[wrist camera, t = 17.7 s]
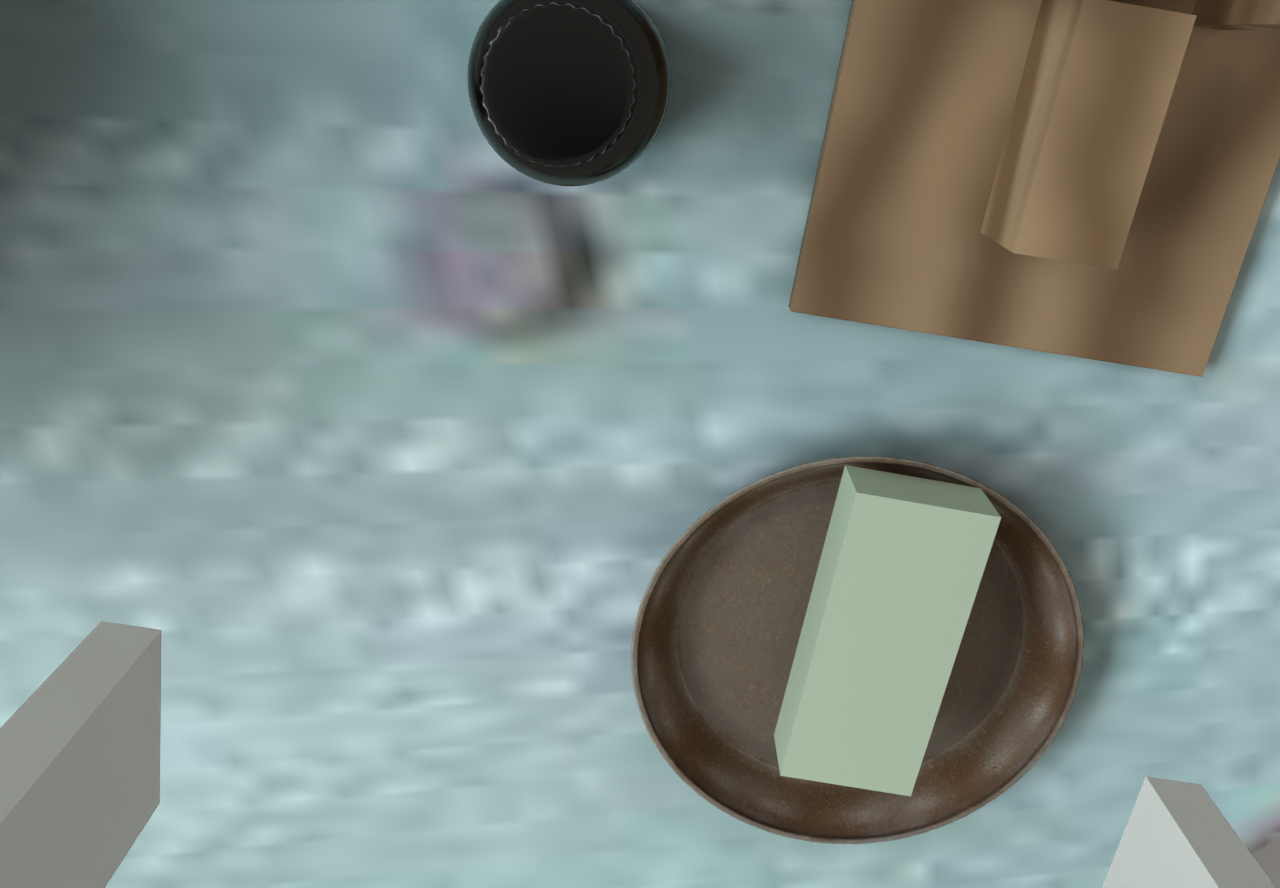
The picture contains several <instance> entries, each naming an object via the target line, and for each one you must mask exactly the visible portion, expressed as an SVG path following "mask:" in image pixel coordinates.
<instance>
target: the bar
mask: <svg viewBox="0 0 1280 888" xmlns="http://www.w3.org/2000/svg"><path fill="white" fill-rule="evenodd" d="M1000 520H1001V516H1000V515H999V514H998V512H997V511H996V509H995V508H994V506H993V505H992V503H991V502H990V501H989V499H988V498H987V496H986V495H985V493H984V492H983V491H982V489H981V488H975V487H970V486H964V485H958V484H952V483H947V482H941V481H935V480H929V479H924V478H918V477H912V476H906V475H900V474H895V473H889V472H883V471H877V470H872V469H866V468H860V467H854V466H848V465H845V467H844V471H843V475H842V478H841V482H840V486H839V490H838V494H837V497H836V501H835V505H834V509H833V512H832V516H831V520H830V524H829V528H828V531H827V535H826V539H825V543H824V547H823V550H822V554H821V558H820V562H819V566H818V569H817V573H816V577H815V581H814V585H813V588H812V592H811V596H810V600H809V604H808V607H807V611H806V615H805V619H804V623H803V626H802V630H801V634H800V638H799V642H798V645H797V649H796V653H795V657H794V661H793V664H792V668H791V672H790V676H789V680H788V683H787V687H786V691H785V695H784V699H783V702H782V706H781V710H780V714H779V718H778V721H777V725H776V729H775V733H774V739H775V746H776V752H777V758H778V764H779V771H780V776H786V777H792V778H798V779H805V780H811V781H817V782H823V783H830V784H836V785H842V786H848V787H855V788H861V789H867V790H874V791H880V792H886V793H892V794H899V795H905V796H911V794H912V791H913V788H914V785H915V782H916V779H917V776H918V773H919V770H920V767H921V764H922V760H923V757H924V754H925V751H926V748H927V745H928V742H929V739H930V736H931V733H932V730H933V726H934V723H935V720H936V717H937V714H938V711H939V708H940V705H941V702H942V699H943V696H944V693H945V689H946V686H947V683H948V680H949V677H950V674H951V671H952V668H953V665H954V662H955V659H956V655H957V652H958V649H959V646H960V643H961V640H962V637H963V634H964V631H965V628H966V625H967V622H968V618H969V615H970V612H971V609H972V606H973V603H974V600H975V597H976V594H977V591H978V588H979V584H980V581H981V578H982V575H983V572H984V569H985V566H986V563H987V560H988V557H989V554H990V551H991V547H992V544H993V541H994V538H995V535H996V532H997V529H998V526H999V523H1000Z"/></svg>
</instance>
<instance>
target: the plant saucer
mask: <svg viewBox="0 0 1280 888" xmlns="http://www.w3.org/2000/svg"><path fill="white" fill-rule="evenodd" d="M845 465H848V466H854V467H860V468H866V469H872V470H877V471H883V472H889V473H895V474H900V475H906V476H912V477H918V478H924V479H929V480H935V481H941V482H947V483H952V484H958V485H964V486H970V487H975V488H981V489H982V491H983V492H984V493H985V495H986V496H987V498H988V499H989V501H990V502H991V503H992V505H993V506H994V508H995V509H996V511H997V512H998V514H999V515H1000V516H1001V520H1000V523H999V526H998V529H997V532H996V535H995V538H994V541H993V544H992V547H991V551H990V554H989V557H988V560H987V563H986V566H985V569H984V572H983V575H982V578H981V581H980V584H979V588H978V591H977V594H976V597H975V600H974V603H973V606H972V609H971V612H970V615H969V618H968V622H967V625H966V628H965V631H964V634H963V637H962V640H961V643H960V646H959V649H958V652H957V655H956V659H955V662H954V665H953V668H952V671H951V674H950V677H949V680H948V683H947V686H946V689H945V693H944V696H943V699H942V702H941V705H940V708H939V711H938V714H937V717H936V720H935V723H934V726H933V730H932V733H931V736H930V739H929V742H928V745H927V748H926V751H925V754H924V757H923V760H922V764H921V767H920V770H919V773H918V776H917V779H916V782H915V785H914V788H913V791H912V794H911V796H905V795H899V794H892V793H886V792H880V791H874V790H867V789H861V788H855V787H848V786H842V785H836V784H830V783H823V782H817V781H811V780H805V779H798V778H792V777H786V776H780V771H779V764H778V758H777V752H776V746H775V739H774V733H775V729H776V725H777V721H778V718H779V714H780V710H781V706H782V702H783V699H784V695H785V691H786V687H787V683H788V680H789V676H790V672H791V668H792V664H793V661H794V657H795V653H796V649H797V645H798V642H799V638H800V634H801V630H802V626H803V623H804V619H805V615H806V611H807V607H808V604H809V600H810V596H811V592H812V588H813V585H814V581H815V577H816V573H817V569H818V566H819V562H820V558H821V554H822V550H823V547H824V543H825V539H826V535H827V531H828V528H829V524H830V520H831V516H832V512H833V509H834V505H835V501H836V497H837V494H838V490H839V486H840V482H841V478H842V475H843V471H844V467H845ZM1083 647H1084V641H1083V625H1082V617H1081V611H1080V606H1079V602H1078V598H1077V594H1076V591H1075V588H1074V585H1073V582H1072V579H1071V577H1070V575H1069V573H1068V571H1067V569H1066V566H1065V564H1064V562H1063V560H1062V559H1061V557H1060V556H1059V554H1058V552H1057V551H1056V549H1055V548H1054V546H1053V545H1052V544H1051V542H1050V541H1049V540H1048V538H1047V537H1046V536H1045V534H1044V533H1043V532H1042V531H1041V530H1040V529H1039V527H1038V526H1037V525H1036V524H1035V523H1034V522H1033V521H1032V520H1031V519H1030V518H1029V517H1028V516H1027V515H1026V514H1024V513H1023V512H1022V511H1021V510H1020V509H1019V508H1018V507H1016V506H1015V505H1014V504H1012V503H1011V502H1010V501H1008V500H1007V499H1006V498H1004V497H1003V496H1001V495H1000V494H998V493H996V492H995V491H993V490H991V489H990V488H988V487H986V486H984V485H982V484H980V483H978V482H976V481H974V480H972V479H970V478H968V477H966V476H963V475H961V474H958V473H956V472H953V471H950V470H947V469H944V468H941V467H938V466H935V465H931V464H927V463H922V462H918V461H912V460H906V459H899V458H890V457H846V458H835V459H828V460H822V461H817V462H812V463H807V464H803V465H800V466H796V467H793V468H789V469H786V470H783V471H780V472H777V473H775V474H772V475H770V476H767V477H765V478H762V479H760V480H758V481H756V482H754V483H751V484H749V485H747V486H745V487H744V488H742V489H740V490H738V491H736V492H735V493H733V494H731V495H730V496H728V497H727V498H725V499H724V500H722V501H721V502H719V503H718V504H716V505H715V506H714V507H712V508H711V509H709V510H708V511H707V512H706V513H705V514H703V515H702V516H701V517H700V518H699V519H698V520H697V521H695V522H694V523H693V524H692V525H691V526H690V527H689V528H688V529H687V530H686V531H685V532H684V534H683V535H682V536H681V537H680V538H679V539H678V540H677V541H676V543H675V544H674V545H673V546H672V547H671V549H670V550H669V552H668V553H667V554H666V556H665V557H664V558H663V560H662V561H661V563H660V565H659V566H658V568H657V569H656V571H655V573H654V575H653V577H652V579H651V581H650V583H649V585H648V587H647V590H646V592H645V594H644V597H643V599H642V602H641V605H640V608H639V611H638V615H637V619H636V623H635V628H634V634H633V641H632V678H633V685H634V690H635V695H636V700H637V704H638V707H639V710H640V712H641V715H642V718H643V721H644V724H645V726H646V728H647V731H648V733H649V734H650V736H651V738H652V740H653V742H654V744H655V745H656V747H657V748H658V750H659V751H660V752H661V754H662V756H663V757H664V759H665V760H666V761H667V763H668V764H669V765H670V767H671V768H672V769H673V770H674V771H675V773H676V774H677V775H678V776H679V777H680V778H681V779H682V780H683V781H684V782H685V783H686V784H687V785H688V786H690V787H691V788H692V789H693V790H694V791H695V792H696V793H698V794H699V795H700V796H702V797H703V798H704V799H706V800H707V801H708V802H710V803H711V804H713V805H714V806H715V807H717V808H718V809H720V810H722V811H724V812H725V813H727V814H729V815H731V816H732V817H734V818H736V819H738V820H741V821H743V822H745V823H747V824H749V825H752V826H754V827H757V828H760V829H762V830H765V831H768V832H771V833H774V834H778V835H781V836H785V837H789V838H794V839H800V840H805V841H810V842H819V843H833V844H865V843H875V842H884V841H891V840H896V839H901V838H906V837H910V836H914V835H918V834H921V833H925V832H928V831H930V830H934V829H937V828H940V827H942V826H944V825H946V824H949V823H951V822H954V821H956V820H958V819H960V818H962V817H965V816H967V815H969V814H970V813H972V812H974V811H976V810H978V809H979V808H981V807H983V806H984V805H986V804H987V803H989V802H990V801H991V800H994V799H995V798H996V797H997V796H999V795H1001V794H1002V793H1003V792H1005V791H1006V790H1007V789H1008V788H1009V787H1011V786H1012V785H1013V784H1014V783H1015V782H1017V781H1018V780H1019V779H1020V778H1021V777H1022V776H1023V775H1024V774H1025V773H1026V772H1027V771H1028V770H1029V769H1030V768H1031V767H1032V766H1033V765H1034V764H1035V762H1036V761H1037V760H1038V759H1039V758H1040V756H1041V755H1042V754H1043V752H1044V751H1045V750H1046V748H1047V747H1048V746H1049V745H1050V743H1051V742H1052V741H1053V739H1054V737H1055V736H1056V734H1057V732H1058V731H1059V729H1060V728H1061V726H1062V724H1063V722H1064V720H1065V718H1066V716H1067V714H1068V712H1069V709H1070V707H1071V704H1072V702H1073V699H1074V696H1075V693H1076V690H1077V686H1078V682H1079V677H1080V672H1081V667H1082V660H1083Z"/></svg>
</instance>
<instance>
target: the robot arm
mask: <svg viewBox="0 0 1280 888" xmlns="http://www.w3.org/2000/svg"><path fill="white" fill-rule="evenodd" d="M160 712H161V630H157V629H150V628H144V627H137V626H130V625H123V624H117V623H110V622H103V621H101V622H100V623H99V624H98V625H97V627H96V628H95V629H94V630H93V631H92V632H91V633H90V634H89V635H88V636H87V637H86V638H85V639H84V640H83V641H82V642H81V643H80V645H79V646H78V647H77V648H76V649H75V650H74V651H73V652H72V653H71V654H70V655H69V656H68V657H67V658H66V659H65V660H64V661H63V663H62V664H61V665H60V666H59V667H58V668H57V669H56V670H55V671H54V672H53V673H52V674H51V675H50V676H49V677H48V678H47V679H46V680H45V682H44V683H43V684H42V685H41V686H40V687H39V688H38V689H37V690H36V691H35V692H34V693H33V694H32V695H31V696H30V697H29V698H28V700H27V701H26V702H25V703H24V704H23V705H22V706H21V707H20V708H19V709H18V710H17V711H16V712H15V713H14V714H13V715H12V716H11V718H10V719H9V720H8V721H7V722H6V723H5V724H4V725H3V726H2V727H1V728H0V888H105V887H106V885H107V883H108V882H109V880H110V879H111V877H112V876H113V874H114V873H115V871H116V870H117V868H118V866H119V865H120V863H121V862H122V860H123V859H124V857H125V856H126V854H127V853H128V851H129V849H130V848H131V846H132V845H133V843H134V842H135V840H136V839H137V837H138V836H139V834H140V832H141V831H142V829H143V828H144V826H145V825H146V823H147V822H148V820H149V819H150V817H151V815H152V814H153V812H154V811H155V809H156V808H157V806H158V805H159V803H160ZM1102 888H1275V887H1274V885H1273V884H1272V883H1271V881H1270V880H1269V878H1268V877H1267V876H1266V874H1265V873H1264V871H1263V870H1262V869H1261V867H1260V866H1259V864H1258V863H1257V862H1256V860H1255V859H1254V857H1253V856H1252V855H1251V853H1250V852H1249V851H1248V849H1247V848H1246V846H1245V845H1244V844H1243V842H1242V841H1241V839H1240V838H1239V837H1238V835H1237V834H1236V832H1235V831H1234V830H1233V828H1232V827H1231V826H1230V824H1229V823H1228V821H1227V820H1226V819H1225V817H1224V816H1223V814H1222V813H1221V812H1220V810H1219V809H1218V807H1217V806H1216V805H1215V803H1214V802H1213V801H1212V799H1211V798H1210V796H1209V795H1208V794H1207V792H1206V791H1205V789H1204V788H1203V787H1202V785H1200V784H1193V783H1186V782H1180V781H1173V780H1166V779H1160V778H1153V777H1145V780H1144V783H1143V785H1142V788H1141V790H1140V793H1139V795H1138V798H1137V800H1136V803H1135V805H1134V808H1133V810H1132V813H1131V815H1130V818H1129V821H1128V823H1127V826H1126V828H1125V831H1124V833H1123V836H1122V838H1121V841H1120V843H1119V846H1118V848H1117V851H1116V853H1115V856H1114V859H1113V861H1112V864H1111V866H1110V869H1109V871H1108V874H1107V876H1106V879H1105V881H1104V884H1103V886H1102Z"/></svg>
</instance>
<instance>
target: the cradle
mask: <svg viewBox="0 0 1280 888" xmlns="http://www.w3.org/2000/svg"><path fill="white" fill-rule="evenodd" d="M1279 158H1280V0H853V1H852V6H851V11H850V16H849V21H848V25H847V30H846V35H845V40H844V44H843V49H842V54H841V59H840V64H839V68H838V73H837V78H836V83H835V87H834V92H833V97H832V102H831V107H830V111H829V116H828V121H827V126H826V131H825V135H824V140H823V145H822V150H821V154H820V159H819V164H818V169H817V174H816V178H815V183H814V188H813V193H812V198H811V202H810V207H809V212H808V217H807V221H806V226H805V231H804V236H803V241H802V245H801V250H800V255H799V260H798V265H797V269H796V274H795V279H794V284H793V288H792V293H791V298H790V303H789V307H790V310H791V311H792V312H798V313H804V314H811V315H817V316H823V317H829V318H836V319H842V320H848V321H855V322H861V323H867V324H873V325H880V326H886V327H892V328H899V329H905V330H911V331H918V332H924V333H930V334H936V335H943V336H949V337H955V338H962V339H968V340H974V341H980V342H987V343H993V344H999V345H1006V346H1012V347H1018V348H1025V349H1031V350H1037V351H1043V352H1050V353H1056V354H1062V355H1069V356H1075V357H1081V358H1087V359H1094V360H1100V361H1106V362H1113V363H1119V364H1125V365H1131V366H1138V367H1144V368H1150V369H1157V370H1163V371H1169V372H1176V373H1182V374H1188V375H1194V376H1201V377H1202V376H1203V374H1204V371H1205V368H1206V365H1207V362H1208V359H1209V357H1210V354H1211V351H1212V348H1213V345H1214V342H1215V340H1216V337H1217V334H1218V331H1219V328H1220V325H1221V323H1222V320H1223V317H1224V314H1225V311H1226V308H1227V306H1228V303H1229V300H1230V297H1231V294H1232V291H1233V289H1234V286H1235V283H1236V280H1237V277H1238V275H1239V272H1240V269H1241V266H1242V263H1243V260H1244V258H1245V255H1246V252H1247V249H1248V246H1249V243H1250V241H1251V238H1252V235H1253V232H1254V229H1255V226H1256V224H1257V221H1258V218H1259V215H1260V212H1261V209H1262V207H1263V204H1264V201H1265V198H1266V195H1267V192H1268V190H1269V187H1270V184H1271V181H1272V178H1273V175H1274V173H1275V170H1276V167H1277V164H1278V161H1279Z"/></svg>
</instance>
